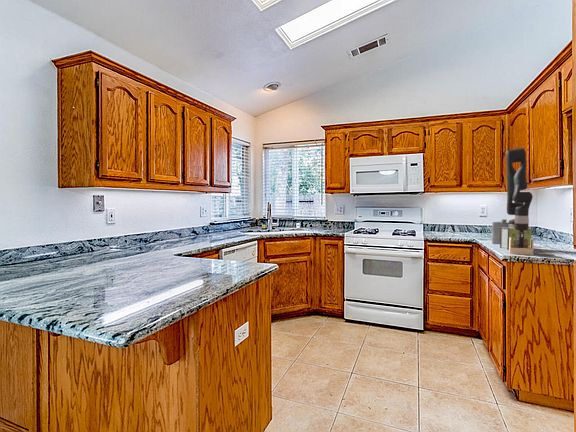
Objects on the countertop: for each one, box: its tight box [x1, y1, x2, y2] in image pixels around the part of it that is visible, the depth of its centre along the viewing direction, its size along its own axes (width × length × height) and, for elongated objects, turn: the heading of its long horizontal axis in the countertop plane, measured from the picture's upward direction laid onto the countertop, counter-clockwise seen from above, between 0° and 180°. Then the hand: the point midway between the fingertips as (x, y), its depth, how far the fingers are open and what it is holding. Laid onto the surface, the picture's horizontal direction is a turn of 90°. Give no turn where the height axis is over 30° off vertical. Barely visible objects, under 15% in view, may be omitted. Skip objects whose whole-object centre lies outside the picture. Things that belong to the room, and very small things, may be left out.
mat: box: [535, 252, 556, 257], centre depth 208 cm, size 10×9×1 cm
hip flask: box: [491, 218, 509, 245], centre depth 261 cm, size 16×4×20 cm, turn 49°
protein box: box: [499, 227, 532, 251], centre depth 233 cm, size 10×15×16 cm
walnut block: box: [514, 239, 528, 249], centre depth 215 cm, size 5×7×9 cm
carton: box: [508, 237, 534, 256], centre depth 215 cm, size 13×12×10 cm
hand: (520, 248), depth 215 cm, fingers closed on walnut block, 5 cm apart
